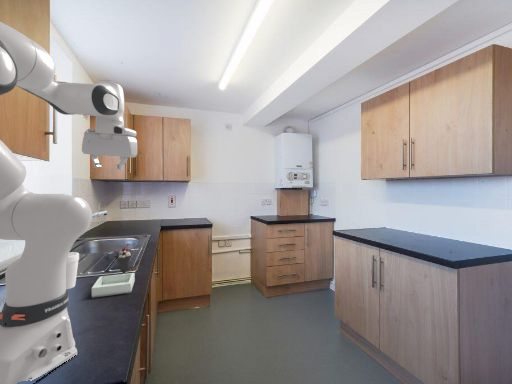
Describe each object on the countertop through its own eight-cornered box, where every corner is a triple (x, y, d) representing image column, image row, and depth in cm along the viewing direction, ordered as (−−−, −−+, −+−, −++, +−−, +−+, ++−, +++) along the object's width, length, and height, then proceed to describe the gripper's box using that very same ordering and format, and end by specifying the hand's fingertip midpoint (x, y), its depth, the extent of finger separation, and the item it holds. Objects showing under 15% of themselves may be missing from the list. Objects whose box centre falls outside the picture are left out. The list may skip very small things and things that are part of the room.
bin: (130, 292, 100) (130, 283, 100) (91, 297, 96) (91, 288, 96) (134, 280, 112) (134, 272, 112) (100, 284, 108) (100, 276, 108)
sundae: (135, 276, 118) (135, 243, 117) (124, 282, 111) (123, 246, 111) (123, 275, 119) (122, 242, 119) (111, 280, 113) (111, 246, 113)
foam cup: (65, 292, 101) (64, 259, 100) (44, 291, 102) (43, 258, 102) (85, 283, 110) (84, 252, 110) (65, 282, 111) (65, 251, 111)
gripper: (77, 127, 92) (76, 166, 94) (129, 129, 89) (127, 170, 90) (91, 129, 99) (90, 166, 100) (140, 132, 95) (139, 170, 96)
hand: (108, 168), depth 95 cm, fingers open, 8 cm apart
